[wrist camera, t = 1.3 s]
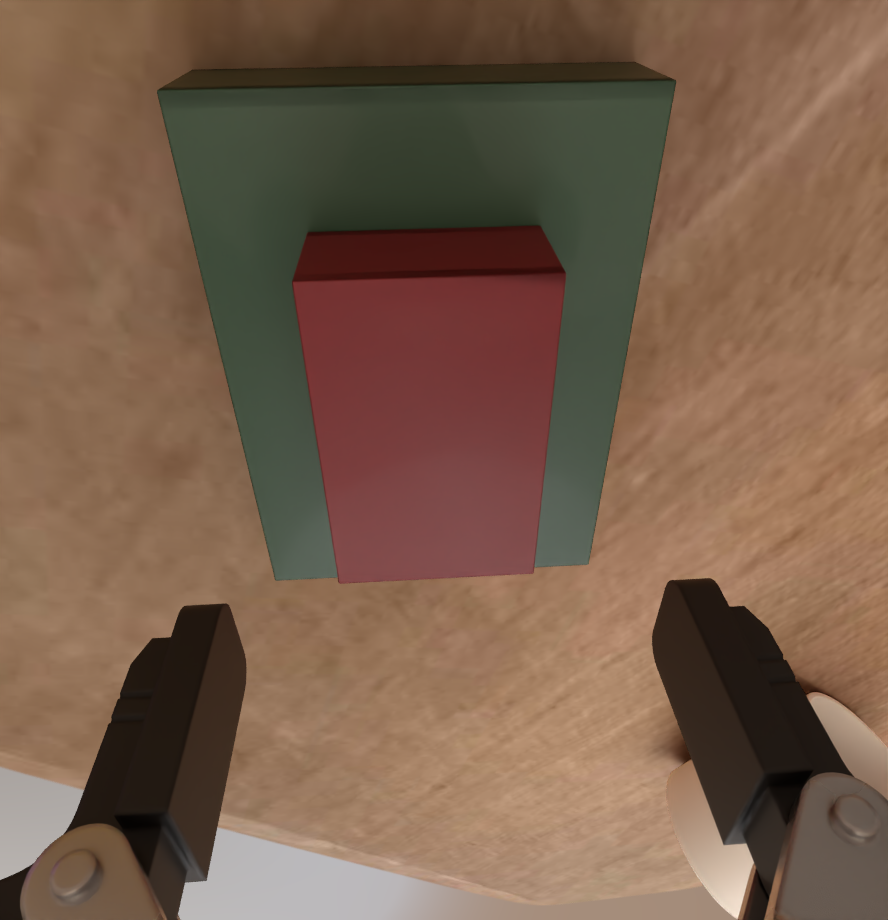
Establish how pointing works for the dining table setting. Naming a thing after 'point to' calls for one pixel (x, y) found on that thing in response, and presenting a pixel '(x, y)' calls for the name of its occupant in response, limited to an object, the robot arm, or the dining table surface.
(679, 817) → the mug
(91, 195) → the dining table surface
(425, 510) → the pocket book
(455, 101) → the big book
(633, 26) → the dining table surface
